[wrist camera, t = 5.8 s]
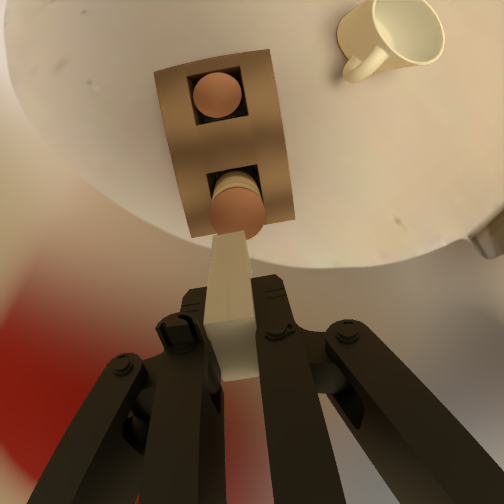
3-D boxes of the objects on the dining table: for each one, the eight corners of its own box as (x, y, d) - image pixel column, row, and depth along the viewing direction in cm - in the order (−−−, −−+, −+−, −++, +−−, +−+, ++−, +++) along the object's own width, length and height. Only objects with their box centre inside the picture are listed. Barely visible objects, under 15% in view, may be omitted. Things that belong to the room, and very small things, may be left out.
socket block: (171, 80, 28) (153, 72, 21) (260, 63, 28) (269, 49, 21) (199, 210, 35) (191, 238, 28) (282, 195, 35) (295, 219, 28)
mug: (357, 106, 31) (402, 108, 21) (303, 61, 28) (332, 44, 19) (406, 44, 27) (456, 34, 17) (357, 0, 24) (397, -27, 15)
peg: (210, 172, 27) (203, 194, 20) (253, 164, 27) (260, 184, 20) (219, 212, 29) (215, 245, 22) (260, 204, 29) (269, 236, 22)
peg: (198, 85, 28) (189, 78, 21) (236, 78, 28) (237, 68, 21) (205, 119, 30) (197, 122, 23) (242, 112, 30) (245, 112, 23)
